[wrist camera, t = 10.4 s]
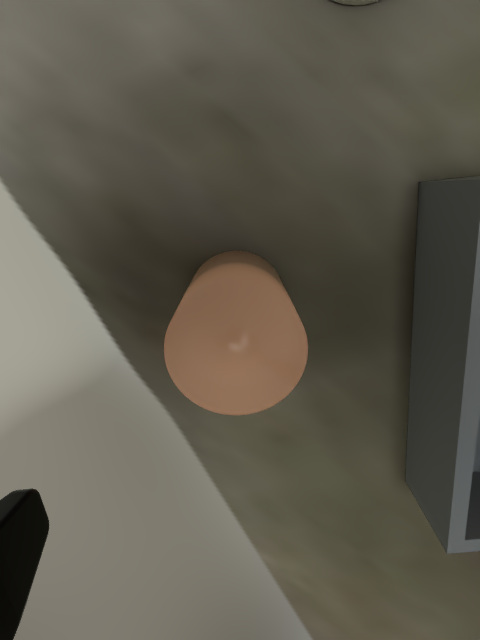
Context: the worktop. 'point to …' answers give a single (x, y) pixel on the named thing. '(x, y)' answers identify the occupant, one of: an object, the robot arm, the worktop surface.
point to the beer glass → (355, 2)
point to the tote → (446, 363)
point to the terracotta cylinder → (236, 337)
